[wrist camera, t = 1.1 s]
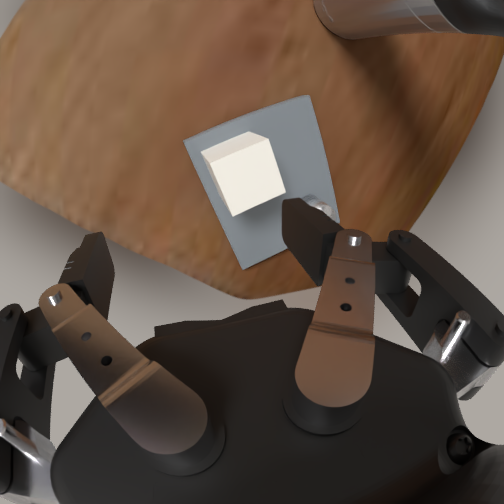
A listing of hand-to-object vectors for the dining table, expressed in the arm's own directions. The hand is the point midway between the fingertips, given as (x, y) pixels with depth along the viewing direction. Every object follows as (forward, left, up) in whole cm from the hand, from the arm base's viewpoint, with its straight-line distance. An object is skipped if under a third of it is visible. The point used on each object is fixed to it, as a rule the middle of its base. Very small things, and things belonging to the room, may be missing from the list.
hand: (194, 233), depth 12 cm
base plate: (-9, +8, -20) cm, 24 cm away
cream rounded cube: (-5, +4, -19) cm, 20 cm away
